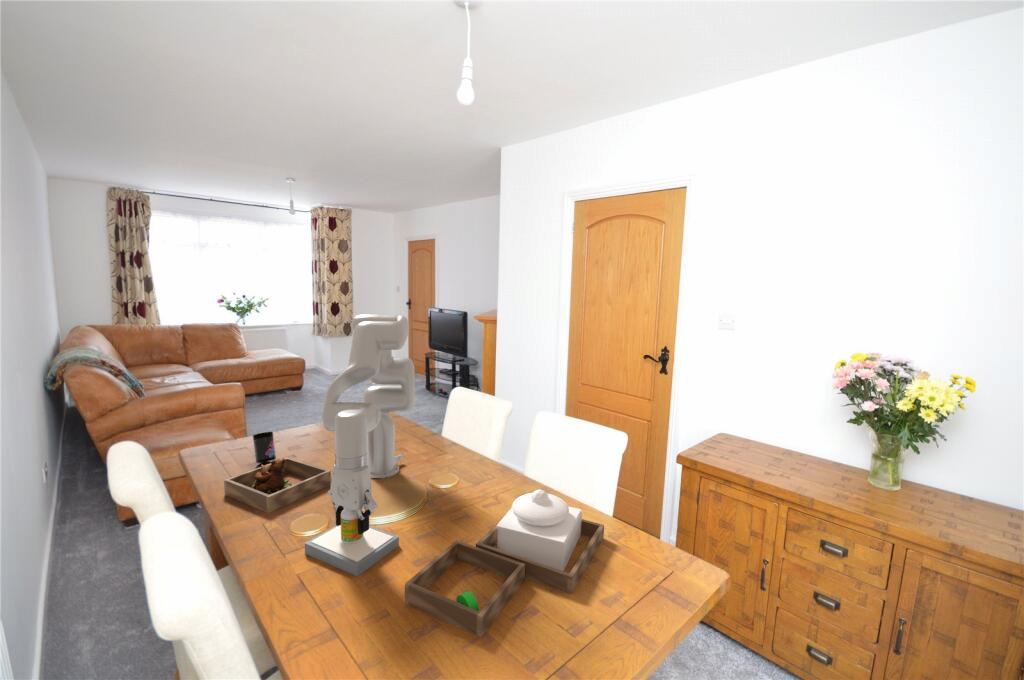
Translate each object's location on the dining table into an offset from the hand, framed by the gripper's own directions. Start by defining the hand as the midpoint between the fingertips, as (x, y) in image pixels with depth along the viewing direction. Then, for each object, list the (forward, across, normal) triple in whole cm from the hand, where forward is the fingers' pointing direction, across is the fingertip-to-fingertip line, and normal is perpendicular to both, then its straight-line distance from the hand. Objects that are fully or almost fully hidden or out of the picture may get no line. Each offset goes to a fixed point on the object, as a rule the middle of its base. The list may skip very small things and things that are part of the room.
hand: (352, 527), depth 113 cm
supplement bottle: (+3, 0, 0) cm, 3 cm away
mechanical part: (+9, +40, -8) cm, 42 cm away
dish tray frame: (+6, +42, +24) cm, 49 cm away
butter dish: (+7, +41, +26) cm, 48 cm away
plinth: (+6, 0, 0) cm, 6 cm away
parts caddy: (+6, +34, +1) cm, 35 cm away
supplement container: (+7, -70, +23) cm, 74 cm away
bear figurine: (+7, -47, +9) cm, 49 cm away
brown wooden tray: (+6, -46, +12) cm, 48 cm away
